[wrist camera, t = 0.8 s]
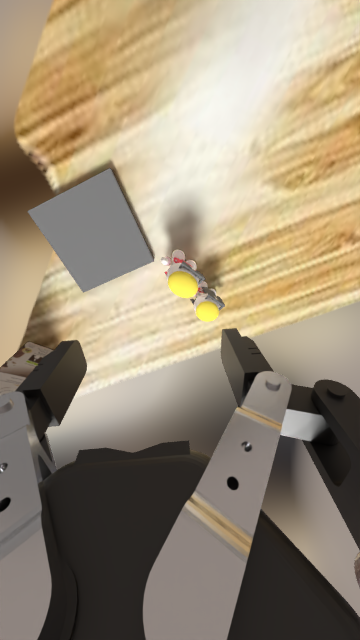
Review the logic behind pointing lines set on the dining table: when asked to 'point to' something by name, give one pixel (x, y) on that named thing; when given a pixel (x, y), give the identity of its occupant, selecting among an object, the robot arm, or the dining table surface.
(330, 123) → the dining table surface
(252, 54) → the dining table surface
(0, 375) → the coffee box
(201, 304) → the toy figures
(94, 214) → the mat
